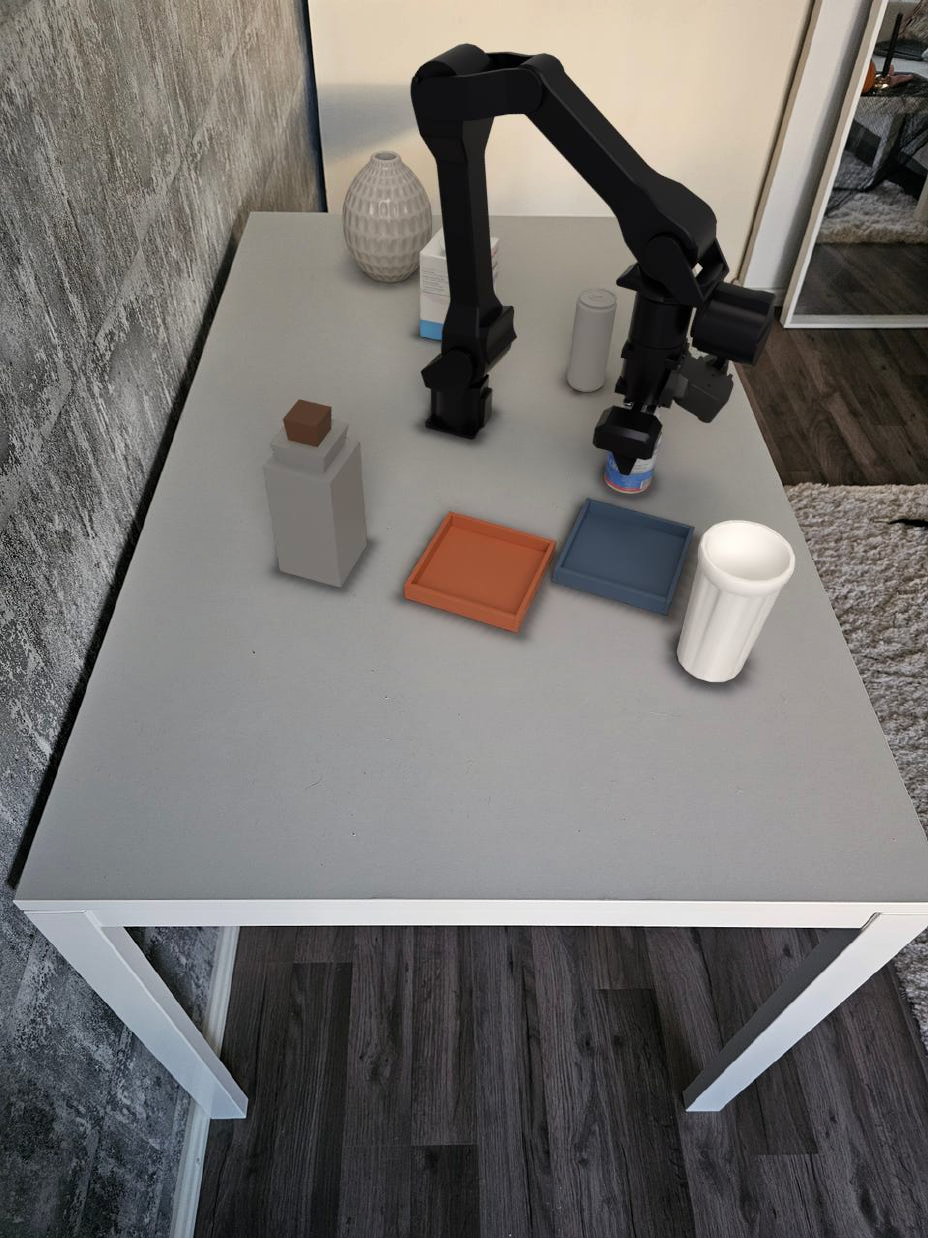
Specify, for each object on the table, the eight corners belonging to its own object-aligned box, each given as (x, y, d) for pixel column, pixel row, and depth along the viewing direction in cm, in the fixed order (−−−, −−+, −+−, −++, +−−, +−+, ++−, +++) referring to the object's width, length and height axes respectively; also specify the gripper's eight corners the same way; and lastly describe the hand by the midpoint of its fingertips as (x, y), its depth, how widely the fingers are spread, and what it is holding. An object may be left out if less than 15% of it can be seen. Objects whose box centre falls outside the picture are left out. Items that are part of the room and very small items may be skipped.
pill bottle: (599, 465, 106) (612, 394, 99) (644, 464, 107) (660, 393, 99) (608, 496, 102) (622, 424, 95) (655, 495, 103) (672, 423, 96)
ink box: (477, 348, 122) (481, 252, 112) (418, 336, 124) (417, 240, 114) (496, 317, 128) (502, 223, 118) (440, 306, 129) (441, 212, 119)
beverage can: (601, 396, 116) (616, 309, 107) (563, 390, 116) (575, 303, 107) (605, 375, 119) (619, 289, 110) (568, 370, 119) (580, 284, 110)
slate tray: (552, 581, 93) (554, 568, 92) (584, 510, 101) (587, 497, 99) (666, 615, 90) (670, 602, 89) (691, 539, 98) (695, 526, 97)
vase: (344, 253, 139) (337, 137, 127) (428, 251, 140) (428, 136, 128) (346, 295, 130) (338, 175, 118) (435, 293, 132) (437, 174, 119)
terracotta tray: (404, 597, 91) (404, 584, 90) (449, 523, 99) (449, 510, 97) (517, 633, 88) (518, 620, 87) (554, 554, 96) (556, 540, 94)
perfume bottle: (366, 544, 96) (357, 400, 83) (340, 587, 92) (325, 442, 78) (308, 529, 97) (290, 384, 84) (279, 570, 93) (255, 425, 80)
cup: (733, 706, 83) (778, 599, 72) (652, 668, 86) (684, 560, 75) (763, 649, 88) (809, 541, 77) (685, 615, 91) (720, 506, 80)
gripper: (720, 403, 83) (683, 530, 95) (753, 307, 95) (717, 431, 106) (602, 375, 85) (581, 502, 97) (649, 285, 97) (625, 408, 109)
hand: (631, 459), depth 102 cm, fingers closed on pill bottle, 5 cm apart
